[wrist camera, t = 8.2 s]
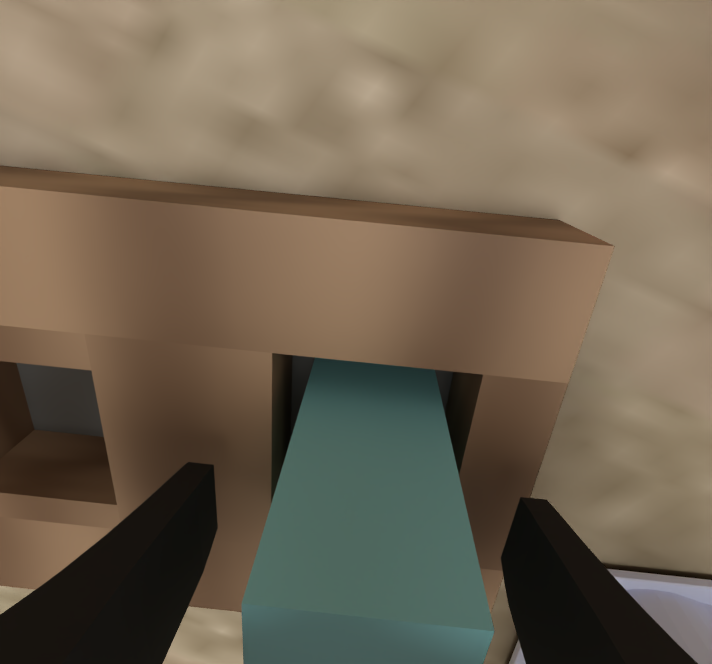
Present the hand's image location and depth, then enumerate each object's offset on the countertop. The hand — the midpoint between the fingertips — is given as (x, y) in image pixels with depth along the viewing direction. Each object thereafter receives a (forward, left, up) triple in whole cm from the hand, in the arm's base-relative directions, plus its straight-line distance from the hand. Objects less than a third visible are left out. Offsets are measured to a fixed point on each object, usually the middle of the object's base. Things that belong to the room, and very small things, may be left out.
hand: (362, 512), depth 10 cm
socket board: (+5, 0, -4) cm, 6 cm away
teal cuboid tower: (0, 0, -4) cm, 4 cm away
